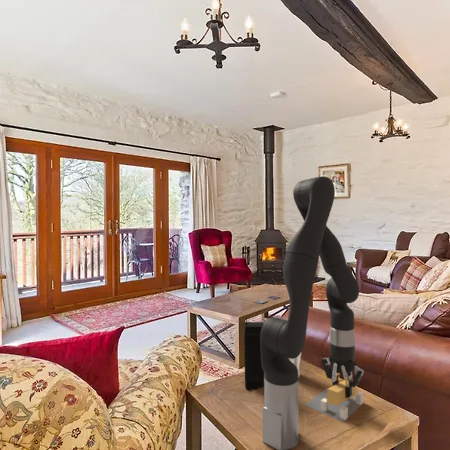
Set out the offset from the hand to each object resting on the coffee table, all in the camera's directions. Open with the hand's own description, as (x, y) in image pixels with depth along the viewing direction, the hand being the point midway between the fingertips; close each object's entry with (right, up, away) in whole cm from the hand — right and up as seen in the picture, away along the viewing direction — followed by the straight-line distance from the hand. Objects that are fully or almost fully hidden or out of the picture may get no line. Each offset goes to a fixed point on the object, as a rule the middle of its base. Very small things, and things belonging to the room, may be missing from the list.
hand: (342, 394), depth 110 cm
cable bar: (0, -1, 0) cm, 1 cm away
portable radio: (-26, -4, +16) cm, 31 cm away
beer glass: (-12, -4, +21) cm, 25 cm away
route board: (-2, -5, +2) cm, 5 cm away
